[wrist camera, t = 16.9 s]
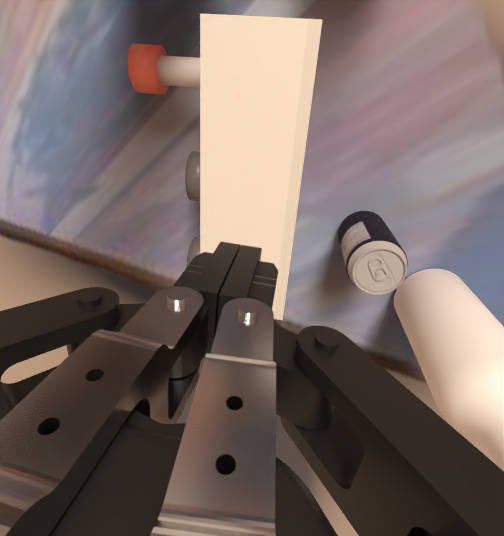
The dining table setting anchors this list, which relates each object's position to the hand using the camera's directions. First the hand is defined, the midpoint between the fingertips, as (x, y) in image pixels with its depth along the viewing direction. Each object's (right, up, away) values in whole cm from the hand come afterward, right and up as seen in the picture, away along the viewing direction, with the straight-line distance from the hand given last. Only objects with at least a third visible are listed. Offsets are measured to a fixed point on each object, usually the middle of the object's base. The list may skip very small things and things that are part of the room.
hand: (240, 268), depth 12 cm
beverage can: (+14, +5, +30) cm, 34 cm away
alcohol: (+24, -4, +32) cm, 40 cm away
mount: (+2, +12, +28) cm, 31 cm away
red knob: (-6, +19, +20) cm, 29 cm away
